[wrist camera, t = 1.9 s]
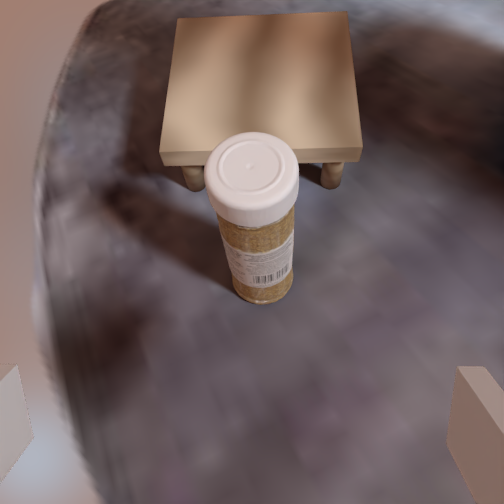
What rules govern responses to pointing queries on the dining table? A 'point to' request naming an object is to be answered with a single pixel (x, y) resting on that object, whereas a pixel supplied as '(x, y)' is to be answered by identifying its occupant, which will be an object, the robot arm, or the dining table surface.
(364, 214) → the dining table surface
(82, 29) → the dining table surface
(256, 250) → the spice jar
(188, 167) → the stool
